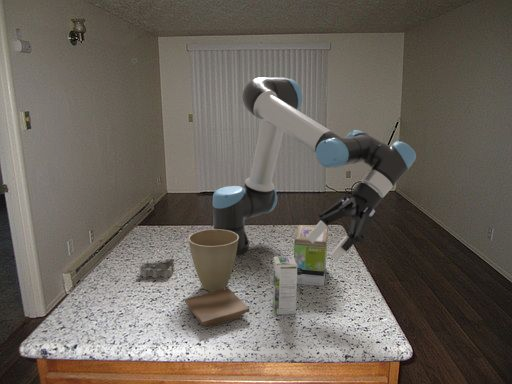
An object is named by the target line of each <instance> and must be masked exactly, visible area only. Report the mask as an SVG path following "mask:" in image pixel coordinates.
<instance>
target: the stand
mask: <svg viewBox="0 0 512 384" xmlns="http://www.w3.org/2000/svg"><path fill="white" fill-rule="evenodd" d="M184 303H185V304H186V305H187V307H188V308H189V310H190V311H191V312H192V313H193V315H194V316H195V318H196V319H197V320H198V322H199V323H200V324H201V325H202V326H204V327H205V328H206V329H208V328H212V327H215V326H218V325H222V324H225V323H228V322H231V321H235V320H237V319H242V318H243V315H244V314H246V313H247V314H248V313H250V307H248V306H247V305H246V304H245V302H244V301H243V300H241V299H240V298H239V297H238V296H237V295H236V294H235V293H234V292H233V290H231V289H230V288H229V287H228V288H227V287H226V288H224V289H222V290H218V291H209V292H206V293H203V294H200V295H195V296H191V297H187V298H184Z"/></svg>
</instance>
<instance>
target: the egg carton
mask: <svg viewBox="0 0 512 384" xmlns="http://www.w3.org/2000/svg"><path fill="white" fill-rule="evenodd" d="M138 269H139V271H140V276H141V277H143V278H147V277H153V278H158V277H163V278H169V277H172V276H173V272H174V271H175V259H174V258H168V259H166V258H165V260H160V261H152V262H146V261H145V262H143V263H142V264H141V265H140V266H139V268H138Z"/></svg>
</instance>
